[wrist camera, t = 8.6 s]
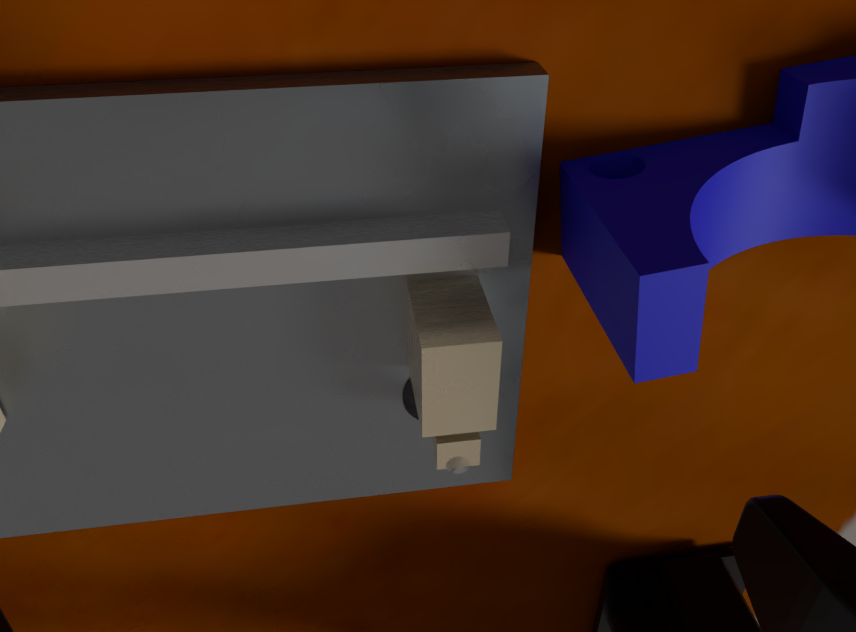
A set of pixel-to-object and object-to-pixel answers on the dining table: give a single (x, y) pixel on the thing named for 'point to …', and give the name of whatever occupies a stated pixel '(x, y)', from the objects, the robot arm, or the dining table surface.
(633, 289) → the cable clip
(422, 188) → the drilled plate
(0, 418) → the block
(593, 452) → the dining table surface
